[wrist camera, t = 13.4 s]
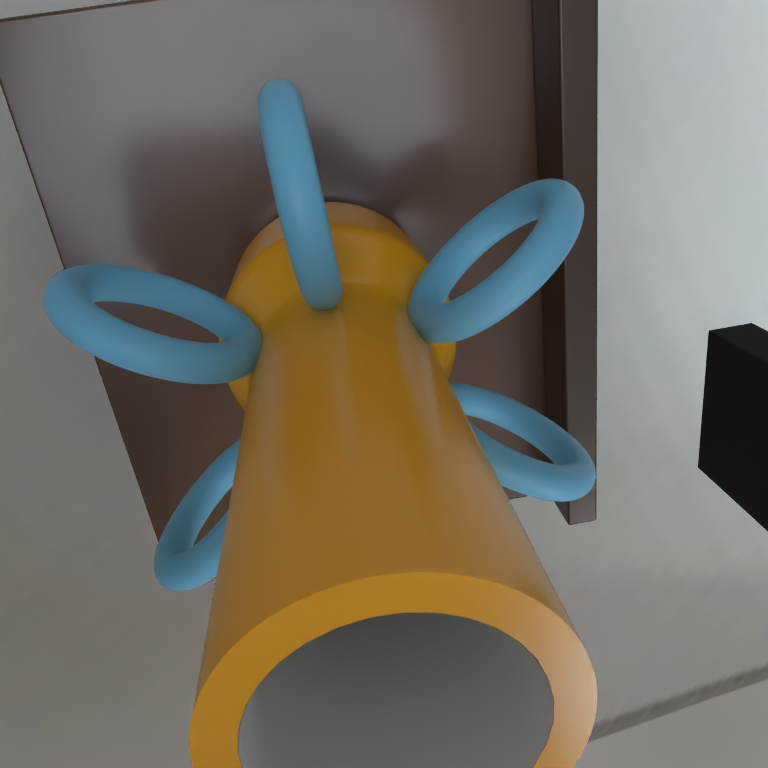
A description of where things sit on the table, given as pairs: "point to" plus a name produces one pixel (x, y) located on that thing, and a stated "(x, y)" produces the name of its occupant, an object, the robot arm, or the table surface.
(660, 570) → the table surface
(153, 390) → the stand
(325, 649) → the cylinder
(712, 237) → the table surface
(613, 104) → the table surface
